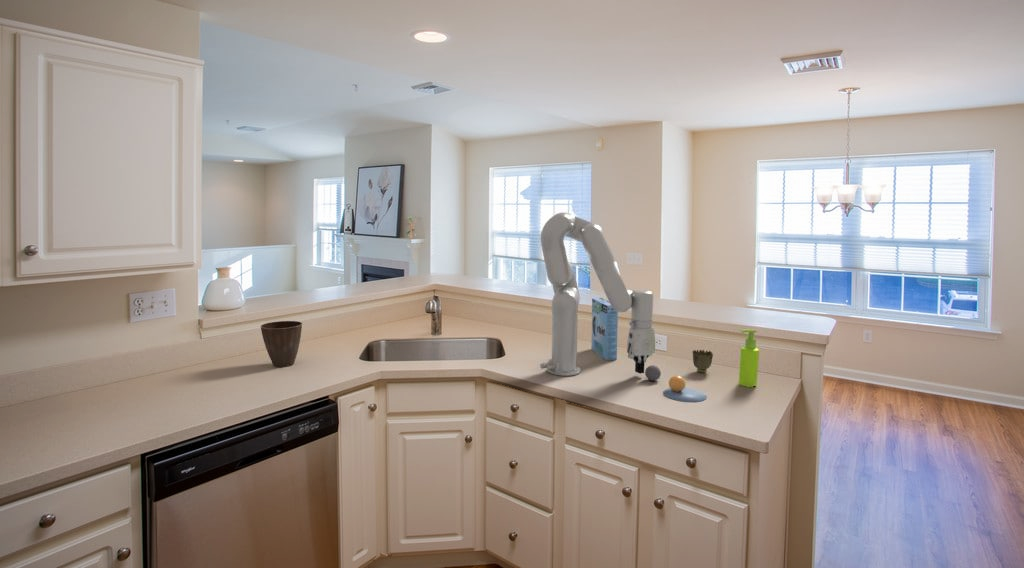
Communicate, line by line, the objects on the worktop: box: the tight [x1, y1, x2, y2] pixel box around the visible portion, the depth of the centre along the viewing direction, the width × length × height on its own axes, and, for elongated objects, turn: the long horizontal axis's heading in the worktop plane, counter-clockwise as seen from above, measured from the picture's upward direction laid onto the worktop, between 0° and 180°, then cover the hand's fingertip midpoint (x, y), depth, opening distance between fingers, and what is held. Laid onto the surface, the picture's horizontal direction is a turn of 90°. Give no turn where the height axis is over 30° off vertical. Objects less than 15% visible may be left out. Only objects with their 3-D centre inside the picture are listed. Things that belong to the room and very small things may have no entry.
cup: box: [692, 349, 714, 374], centre depth 213 cm, size 8×7×8 cm
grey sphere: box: [644, 364, 662, 382], centre depth 203 cm, size 6×6×6 cm
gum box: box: [591, 297, 619, 361], centre depth 237 cm, size 20×5×23 cm, turn 10°
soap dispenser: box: [738, 328, 760, 388], centre depth 198 cm, size 6×7×20 cm
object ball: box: [668, 375, 686, 392], centre depth 191 cm, size 6×6×6 cm
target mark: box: [662, 387, 708, 403], centre depth 188 cm, size 14×14×1 cm
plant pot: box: [260, 320, 303, 368], centre depth 218 cm, size 15×15×16 cm
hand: (639, 372), depth 208 cm, fingers closed
